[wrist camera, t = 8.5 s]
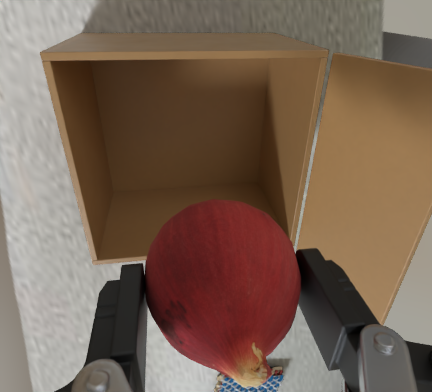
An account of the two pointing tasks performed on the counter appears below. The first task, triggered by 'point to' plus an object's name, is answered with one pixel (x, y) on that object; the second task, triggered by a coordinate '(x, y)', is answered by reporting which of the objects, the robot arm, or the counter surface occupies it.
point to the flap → (371, 174)
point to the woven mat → (229, 388)
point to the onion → (223, 287)
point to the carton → (182, 128)
